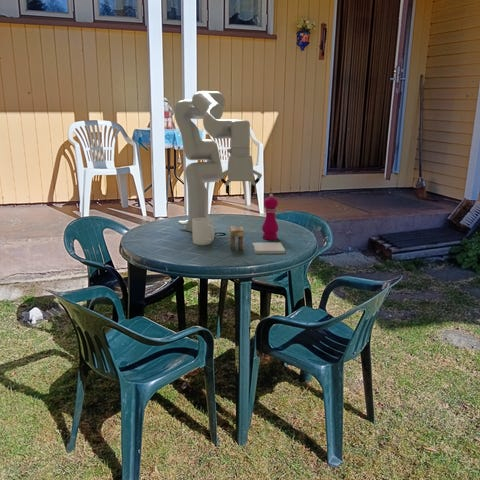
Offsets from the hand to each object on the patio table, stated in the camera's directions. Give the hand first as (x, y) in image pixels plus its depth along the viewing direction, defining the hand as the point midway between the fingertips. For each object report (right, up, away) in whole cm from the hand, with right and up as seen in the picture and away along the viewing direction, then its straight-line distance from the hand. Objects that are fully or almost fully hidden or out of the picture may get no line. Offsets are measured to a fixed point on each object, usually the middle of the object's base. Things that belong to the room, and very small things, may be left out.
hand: (240, 195), depth 199 cm
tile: (+12, -22, +4) cm, 25 cm away
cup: (-15, -20, +12) cm, 28 cm away
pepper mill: (+13, -18, +21) cm, 31 cm away
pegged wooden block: (-2, -22, +5) cm, 22 cm away
